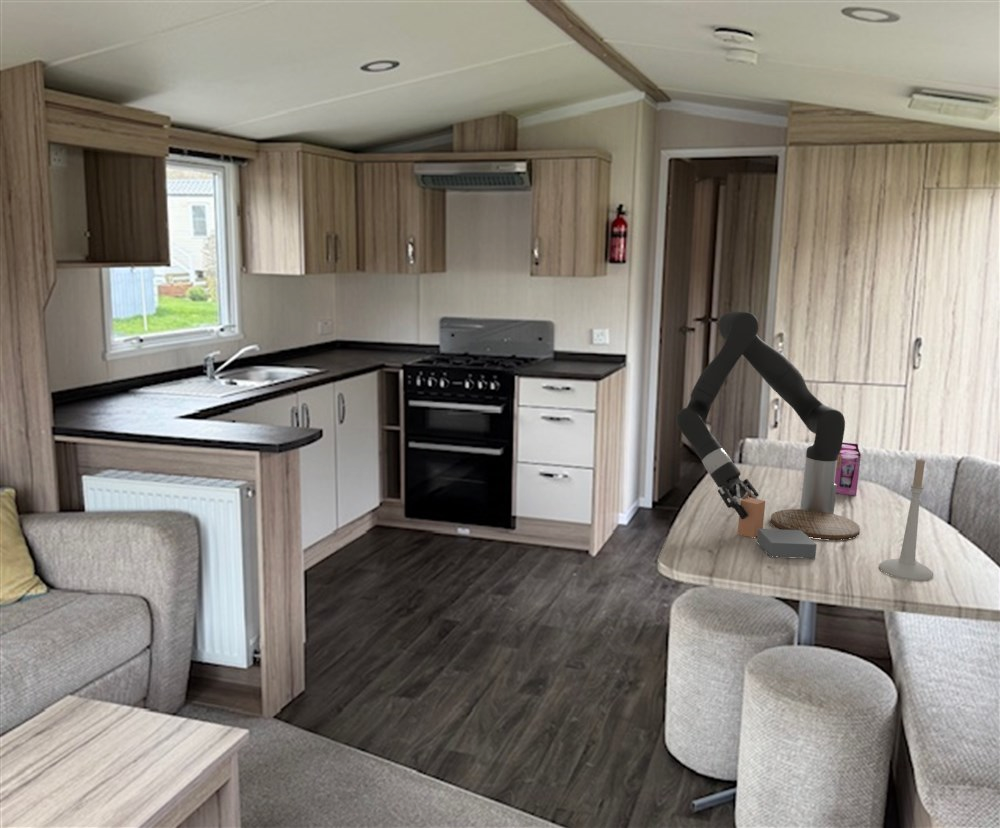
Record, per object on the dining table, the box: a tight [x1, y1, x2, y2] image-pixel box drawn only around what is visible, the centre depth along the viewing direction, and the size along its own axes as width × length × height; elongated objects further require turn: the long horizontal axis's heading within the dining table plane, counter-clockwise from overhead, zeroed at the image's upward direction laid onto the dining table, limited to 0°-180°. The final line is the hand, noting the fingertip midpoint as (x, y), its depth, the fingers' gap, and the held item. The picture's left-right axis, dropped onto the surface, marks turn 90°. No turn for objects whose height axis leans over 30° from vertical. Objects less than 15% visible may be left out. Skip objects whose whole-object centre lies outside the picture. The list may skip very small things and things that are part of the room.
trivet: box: [770, 508, 861, 541], centre depth 268 cm, size 25×25×2 cm
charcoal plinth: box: [756, 528, 818, 559], centre depth 245 cm, size 12×12×4 cm
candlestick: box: [878, 458, 934, 582], centre depth 230 cm, size 13×13×30 cm
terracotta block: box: [737, 496, 766, 539], centre depth 257 cm, size 5×5×10 cm
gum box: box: [835, 442, 862, 497], centre depth 315 cm, size 24×8×14 cm, turn 161°
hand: (753, 515), depth 256 cm, fingers open, 8 cm apart
